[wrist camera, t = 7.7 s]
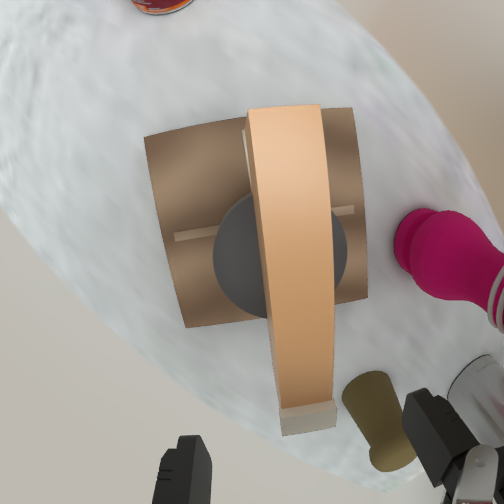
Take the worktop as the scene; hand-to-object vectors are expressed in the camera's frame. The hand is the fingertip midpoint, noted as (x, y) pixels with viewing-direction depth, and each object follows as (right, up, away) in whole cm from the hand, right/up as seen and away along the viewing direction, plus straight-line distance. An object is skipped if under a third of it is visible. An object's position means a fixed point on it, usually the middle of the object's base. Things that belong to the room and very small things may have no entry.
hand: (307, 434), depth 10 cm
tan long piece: (-1, +7, +6) cm, 9 cm away
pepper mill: (+14, +8, +16) cm, 22 cm away
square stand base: (-1, +9, +14) cm, 17 cm away
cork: (+11, -9, +21) cm, 25 cm away
